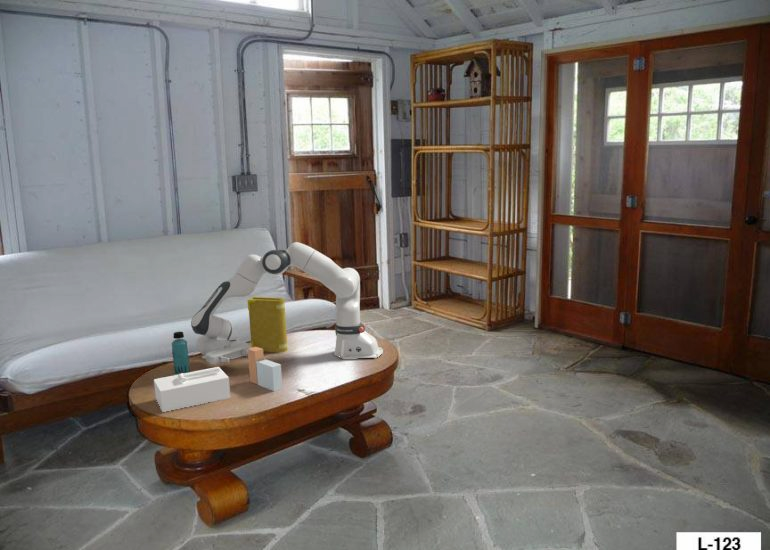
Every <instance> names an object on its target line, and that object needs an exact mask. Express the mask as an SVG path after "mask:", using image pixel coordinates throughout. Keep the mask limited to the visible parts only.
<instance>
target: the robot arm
mask: <svg viewBox="0 0 770 550" xmlns="http://www.w3.org/2000/svg"><path fill="white" fill-rule="evenodd" d="M290 266H291V267H295V268H298V269H299V270H300V271H302V272H304V273H305V274H307V275H309V276H310V277H312V278H314V279H316V280H317V281H319V282H320V283H321V284H322V285H324V286H325V287H326V288H327V289H329V290H330V291H331V292H333V293H334V295H335V296H336V297H335V306H334V307H335V325H334V326H335V327H334V328H335V329H334V331H335V332H334V333H335V336H336V337H335V348H334V352H333V354H334V356H336V355H337V356H336V357H338V356H340V357H341V358H342V359H341V358H340V357H339V358H340V359H341V360H358V359H357V358H375V359H377V357H378V358H379V356H380V355H381V354H382V355H383V353H384V349H383V348H382V347H379V344H378V341H377V339H376V337H374V336H373V335H372V334H370V333H369V332H367V331H366V330H365V329H366V328H365V327H366V324H365V323H362V322H361V309H360V308H361V307H360V306H361V305H360V302H361V277H360V273H359V272H358V271H357V270H356V269H355V268H353V267H344V268H342V267H340V266H339V265H338V264H336V263H335V262H334V260H332V259H331V258H330V257H328V256H327V255H325V254H323V253H321V252H319V251H318V250H316V249H315V248H313V247H311V246H309V245H308V244H304V243H301V242H298V241H295V242H292V243H291V244H290V245H289V246H288V247H287V248H286V249H272V250H268V251H267V252H266V253H265V254H264V255H263V256H260V255H258V254H254V253H252V254H248V255H247V256H246V257H245V258H244V260H242V262H241V263H240V264H239V266H238V268H237V269H236V271H235V273H234V274H233V276H231V278H229V279H228V280H225V281H223V282H222V283H221V284H219V286H217V288H216V289H215V291H214V292H213V293H212V294H211V296H210V297H209V298H208V300H207V301H206V302H205V304H203V306H202V307H201V309H200V310H198V311H197V312H196V313H195V314H194V315H193V316H192V318H191V321H190V326H191V328H192V330H193V332H194V334H196V335H199V337H198V338H197V339H196V343H195V346H196V349H197V351H198V352H199V353H200V354H202V355H203V356H201V359H203V360H205V361H206V362H207V363H208V364H210V365H212V366H213V365H217V364H220V363H230V362H232V360H233V359H236V358H240V357H243V356H245V357H247V358H248V349H249V348H252V346H251V343H247V342H244V341H240V340H239V339H230V338H231V336H232V333H233V327H232V323H231V322H230V320H227V319H225V318H222V317H220V316H217V315H214V314H215V312H216V311H217V310H218V308H219V307H220V305H221V304H222V303H223V302H224V301H225V300H227V299H229V298H230V299H231V298H243V297H247V296H250V295H251V294H252V293H253V292H254V291H255V289H256V288H257V286H258V284H259V282H260V281H261V278H262V277H263V276H264V275H265V274H267V273H268V274H271V275H275V276H277V275H282V274H284V273H285V272H287V271H288V269H289V268H290ZM382 355H381V356H382ZM381 356H380V357H381Z"/></svg>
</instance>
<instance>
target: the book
mask: <svg viewBox="0 0 770 550" xmlns="http://www.w3.org/2000/svg"><path fill="white" fill-rule="evenodd" d="M285 304H286V303H285V298H283V297H271V296H269V297H266V296H253V297H252V298H249V299H247V310H248V318H249V328H250V329H249V331H250V332H249V333H250V345H251V346H252V348H253V347H259V348H262V349H263V352H265V351H266V352H267V351H268V352H267V353H278V352H281V353H286V352H287V351H288V349H289V348H288V337H287V323H286V307H285ZM285 351H286V352H285ZM266 352H265V353H266Z"/></svg>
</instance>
